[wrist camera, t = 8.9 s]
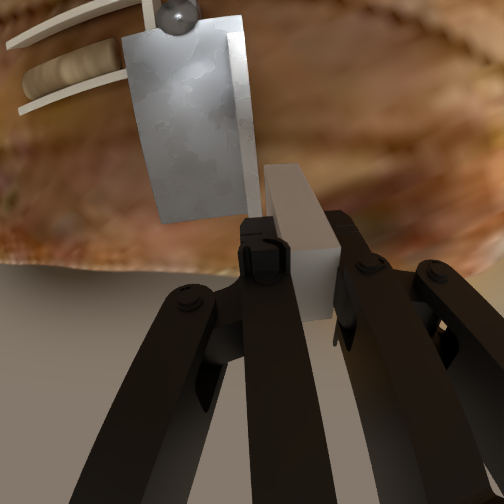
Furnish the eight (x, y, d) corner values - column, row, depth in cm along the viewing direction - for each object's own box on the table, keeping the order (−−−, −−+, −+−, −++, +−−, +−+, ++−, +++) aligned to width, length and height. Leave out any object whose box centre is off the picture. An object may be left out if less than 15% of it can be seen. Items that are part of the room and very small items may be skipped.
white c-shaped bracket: (26, 40, 19) (5, 42, 16) (197, -17, 19) (192, -27, 16) (38, 107, 23) (19, 116, 20) (207, 61, 23) (203, 62, 20)
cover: (163, 218, 27) (155, 244, 24) (122, 16, 17) (102, 11, 14) (260, 206, 27) (264, 231, 24) (238, -7, 17) (239, -17, 14)
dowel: (42, 77, 22) (38, 104, 22) (26, 64, 19) (19, 92, 19) (122, 50, 22) (120, 77, 22) (110, 31, 19) (106, 59, 19)
